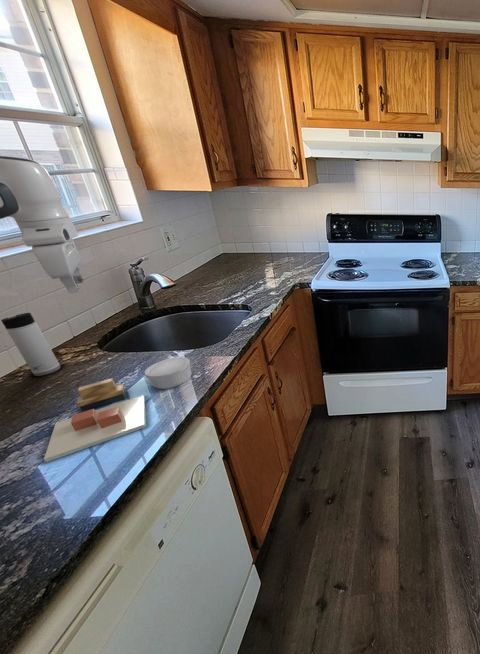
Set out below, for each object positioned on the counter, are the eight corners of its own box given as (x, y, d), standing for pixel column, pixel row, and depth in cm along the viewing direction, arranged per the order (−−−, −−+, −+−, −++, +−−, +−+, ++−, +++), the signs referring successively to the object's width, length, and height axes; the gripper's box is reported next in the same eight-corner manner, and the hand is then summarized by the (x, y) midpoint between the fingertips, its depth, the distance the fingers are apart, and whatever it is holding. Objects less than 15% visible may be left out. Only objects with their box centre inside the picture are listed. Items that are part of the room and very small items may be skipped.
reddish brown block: (75, 431, 89) (70, 423, 88) (77, 422, 92) (72, 415, 91) (96, 424, 91) (92, 416, 90) (98, 416, 94) (94, 408, 93)
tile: (45, 462, 81) (43, 459, 81) (57, 425, 93) (55, 422, 92) (145, 427, 91) (144, 424, 91) (145, 397, 103) (143, 394, 102)
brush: (81, 412, 97) (70, 394, 95) (82, 405, 100) (72, 387, 98) (126, 398, 103) (117, 380, 100) (127, 392, 105) (118, 374, 103)
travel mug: (41, 377, 114) (6, 320, 106) (29, 374, 116) (-6, 317, 108) (65, 367, 119) (34, 312, 111) (54, 364, 122) (23, 309, 113)
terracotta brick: (101, 428, 90) (96, 420, 89) (102, 420, 93) (98, 412, 92) (122, 421, 92) (117, 413, 91) (122, 413, 95) (118, 406, 94)
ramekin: (159, 374, 114) (152, 360, 111) (199, 368, 117) (194, 353, 114) (144, 395, 104) (136, 379, 102) (188, 387, 107) (182, 371, 105)
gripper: (39, 227, 91) (66, 280, 97) (20, 240, 76) (52, 301, 82) (73, 224, 95) (97, 275, 100) (61, 235, 80) (89, 294, 86)
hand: (77, 287), depth 91 cm, fingers open, 8 cm apart
